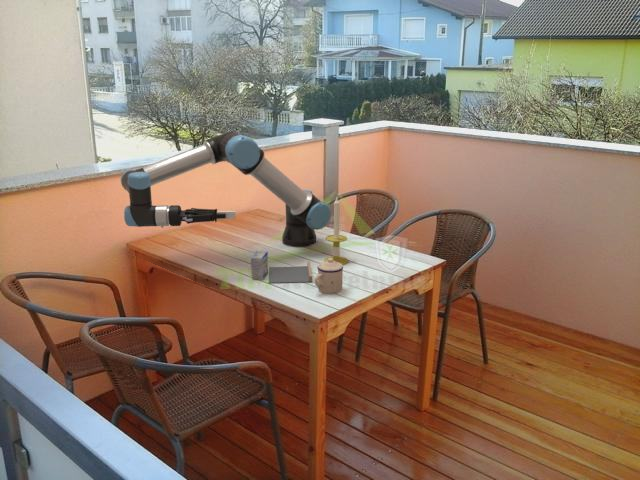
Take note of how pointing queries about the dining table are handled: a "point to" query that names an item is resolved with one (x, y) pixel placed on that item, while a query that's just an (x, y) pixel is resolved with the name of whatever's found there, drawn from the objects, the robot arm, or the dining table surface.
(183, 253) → the dining table surface
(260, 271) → the medicine box
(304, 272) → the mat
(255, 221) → the dining table surface
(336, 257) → the candle
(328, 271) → the teacup with lid
